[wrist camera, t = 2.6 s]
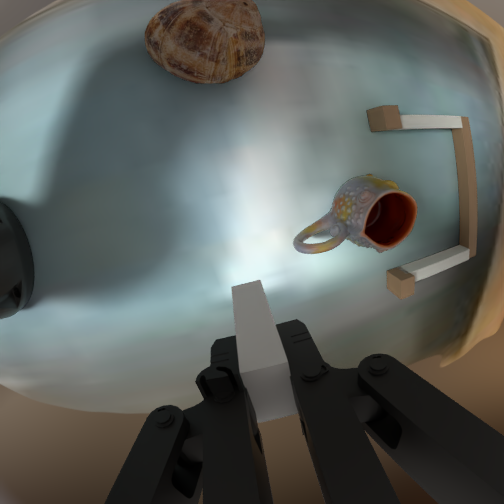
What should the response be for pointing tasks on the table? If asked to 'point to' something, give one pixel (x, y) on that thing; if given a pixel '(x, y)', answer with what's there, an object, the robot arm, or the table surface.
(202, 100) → the table surface
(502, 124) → the table surface
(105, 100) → the table surface
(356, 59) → the table surface
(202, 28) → the seashell
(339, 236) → the mug
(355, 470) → the robot arm
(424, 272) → the pocket
